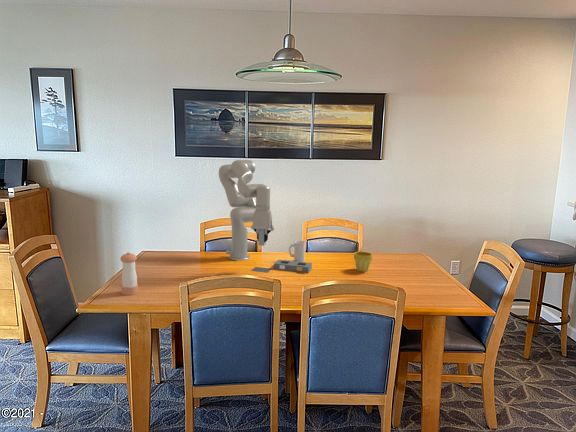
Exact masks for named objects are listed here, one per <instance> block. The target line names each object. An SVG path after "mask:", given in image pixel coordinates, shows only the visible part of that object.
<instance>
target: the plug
mask: <svg viewBox="0 0 576 432" xmlns="http://www.w3.org/2000/svg"><path fill="white" fill-rule="evenodd" d="M264 235H265V230H264V229H259V241H257V242H258V243H257V245H258V246H262V247H264V246H266V245H267V241H266V242H264Z"/></svg>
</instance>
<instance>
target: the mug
mask: <svg viewBox="0 0 576 432" xmlns="http://www.w3.org/2000/svg"><path fill="white" fill-rule="evenodd" d="M293 247H294V248H293ZM292 248H293V249H294V253H293V254H292V252H291V251H292V250H291V249H292ZM288 253H289V256H290V257H291V258H294V259H293V261H298V262H306V261H305V259H306V258H305V257H306V241H304V240H303V241H302V240H296V241H294V244H293V243H290V245H289V247H288Z"/></svg>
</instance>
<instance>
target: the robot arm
mask: <svg viewBox="0 0 576 432" xmlns="http://www.w3.org/2000/svg"><path fill="white" fill-rule="evenodd" d="M255 171H256V164H255V163H254V161H253V160H251V159H237V160H234V161H233V162H231V164H224V165H221V166H220V167H219V169H218V179H219V181H220V183H221V185H222V187H223V189H224V191H225V194H226V199H227V201H228V204H229V206H230V208H231V207H232V209H231V210H230V213H229V217H230V222H231V224H230V225H231V250H225V254H226V255H229V257H228V258H229V260H231V261H236V262H237V261H241V262H242V261H245V260H246V261H247V260H249V259H250V258H251V255H248V228H247V226H246V225H245V224H247V223H252V225H251V226H250V229H251V230H253V231H254V232H255V234H256V240H257V242H259V229H264V230H265V235H264V242H266V243H267V241H268V239H269V234H270V233H271V232H273V231H275V228H274V226H273V217H272V216H273V215H272V212H271V210H270V209H271V208H270V207H271V204H270V203H271V188H270V186H269V185H265V184H262V183H250V182H251V181H252V179H253V174H254V173H255ZM234 179H237V182H236V181H234Z"/></svg>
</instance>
